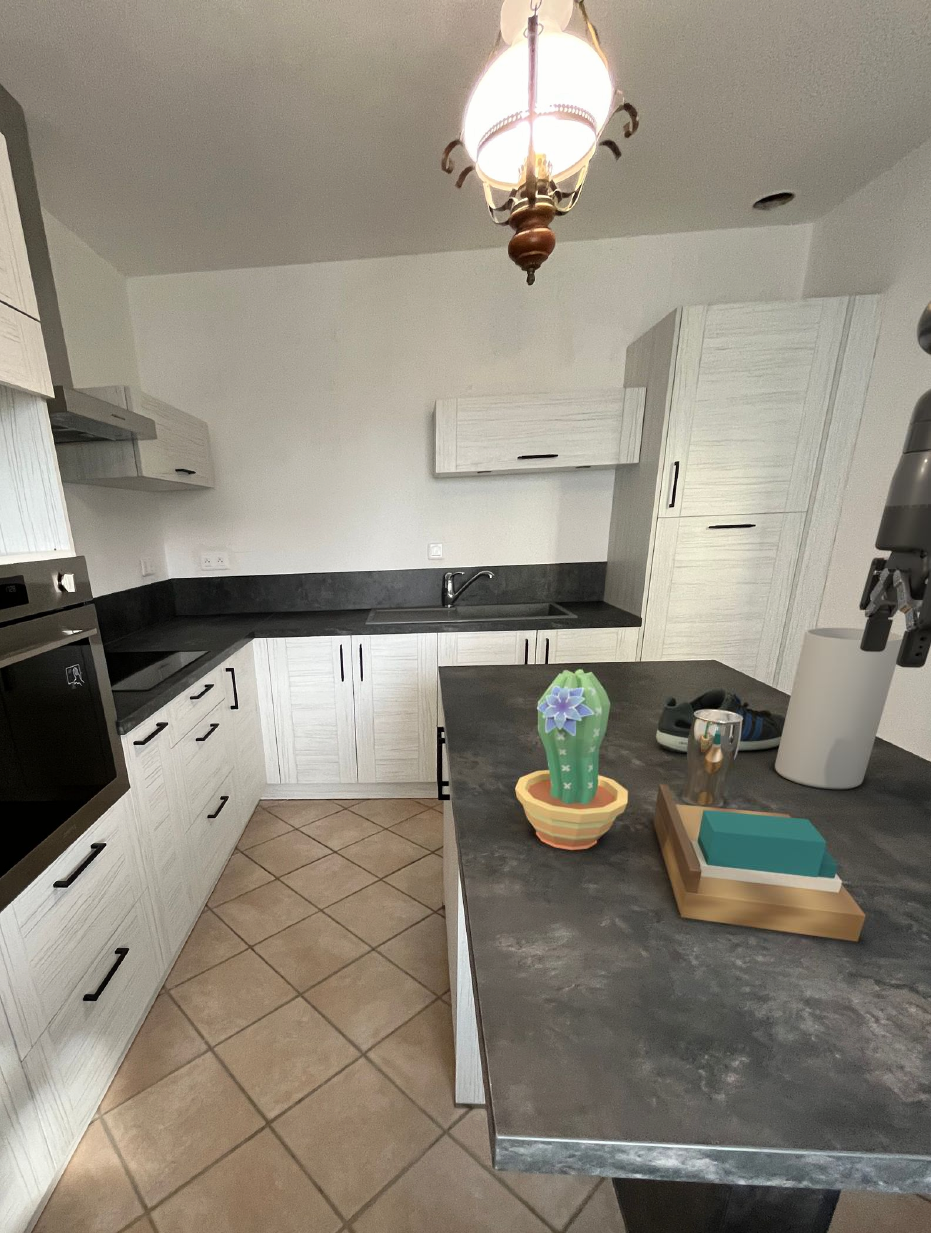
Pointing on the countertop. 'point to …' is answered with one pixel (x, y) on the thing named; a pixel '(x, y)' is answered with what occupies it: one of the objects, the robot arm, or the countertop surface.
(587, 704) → the potted cactus
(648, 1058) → the countertop surface
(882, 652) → the cylinder vase
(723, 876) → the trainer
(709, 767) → the silver metal cup
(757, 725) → the water shoe
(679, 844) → the wooden board with lip
